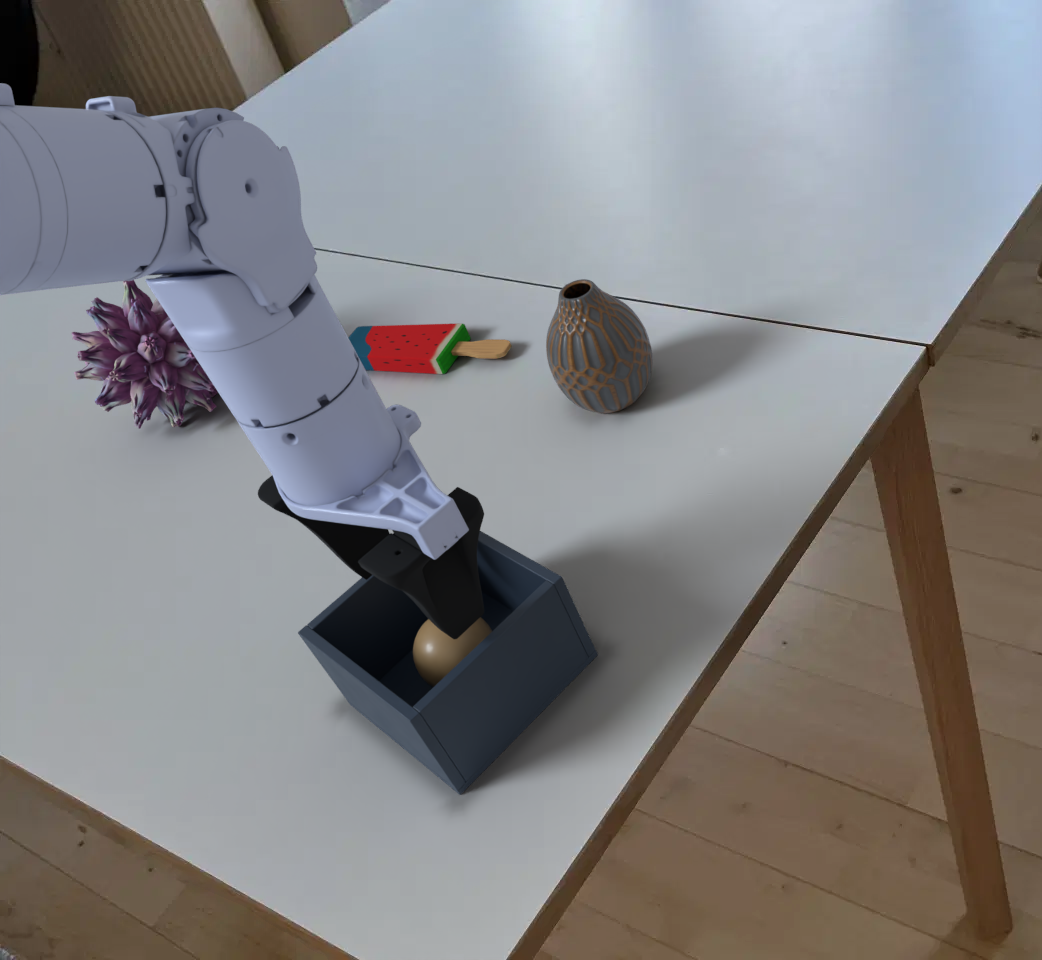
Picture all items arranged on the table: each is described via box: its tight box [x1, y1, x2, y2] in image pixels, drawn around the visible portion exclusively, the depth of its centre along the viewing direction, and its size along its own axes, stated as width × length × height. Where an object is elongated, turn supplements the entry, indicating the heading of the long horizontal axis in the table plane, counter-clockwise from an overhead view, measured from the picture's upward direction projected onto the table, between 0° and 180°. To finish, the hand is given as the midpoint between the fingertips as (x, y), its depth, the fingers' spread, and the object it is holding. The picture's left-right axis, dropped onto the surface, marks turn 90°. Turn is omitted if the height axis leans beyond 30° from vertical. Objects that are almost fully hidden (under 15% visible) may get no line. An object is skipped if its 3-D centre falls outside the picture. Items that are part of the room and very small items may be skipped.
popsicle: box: [348, 322, 512, 375], centre depth 86 cm, size 5×2×15 cm
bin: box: [297, 530, 599, 796], centre depth 58 cm, size 10×10×6 cm
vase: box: [545, 278, 653, 414], centre depth 73 cm, size 7×7×9 cm
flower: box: [71, 279, 218, 430], centre depth 86 cm, size 12×12×12 cm
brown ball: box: [413, 617, 492, 687], centre depth 59 cm, size 4×4×4 cm
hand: (420, 593), depth 56 cm, fingers open, 7 cm apart
